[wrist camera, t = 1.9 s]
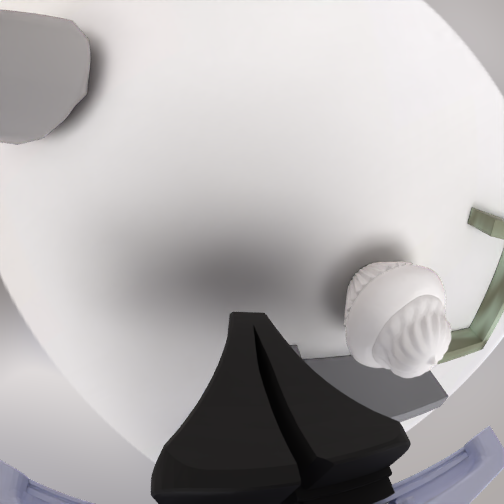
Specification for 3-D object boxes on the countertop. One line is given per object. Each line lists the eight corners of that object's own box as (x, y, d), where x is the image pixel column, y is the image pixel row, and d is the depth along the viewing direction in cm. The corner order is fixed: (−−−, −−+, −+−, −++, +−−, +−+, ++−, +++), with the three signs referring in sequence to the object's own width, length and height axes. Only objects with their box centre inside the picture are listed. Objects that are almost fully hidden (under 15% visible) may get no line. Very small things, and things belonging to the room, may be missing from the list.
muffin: (370, 218, 14) (459, 283, 7) (423, 267, 16) (491, 329, 9) (302, 305, 15) (347, 403, 9) (366, 336, 17) (412, 412, 11)
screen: (399, 368, 20) (430, 417, 15) (268, 384, 18) (284, 455, 13) (419, 333, 18) (458, 383, 13) (278, 345, 17) (302, 425, 11)
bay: (469, 335, 21) (482, 349, 19) (415, 348, 19) (429, 366, 17) (516, 224, 16) (533, 233, 14) (472, 207, 14) (495, 219, 12)
